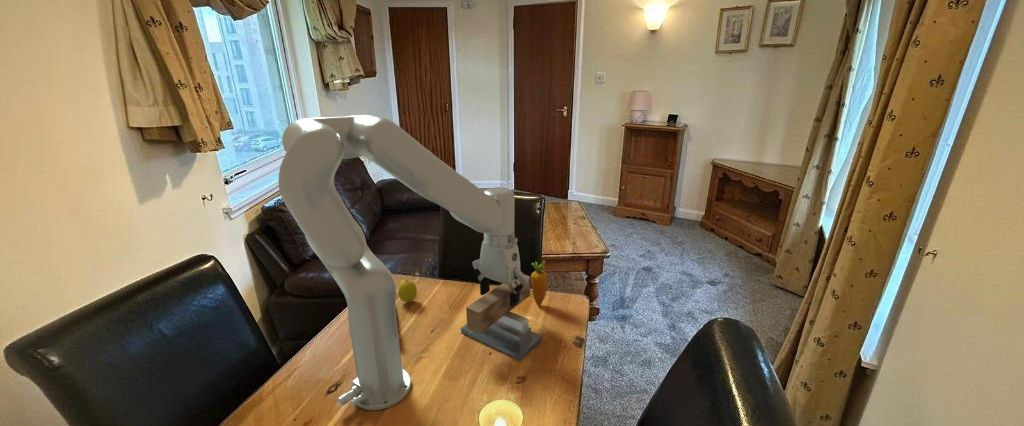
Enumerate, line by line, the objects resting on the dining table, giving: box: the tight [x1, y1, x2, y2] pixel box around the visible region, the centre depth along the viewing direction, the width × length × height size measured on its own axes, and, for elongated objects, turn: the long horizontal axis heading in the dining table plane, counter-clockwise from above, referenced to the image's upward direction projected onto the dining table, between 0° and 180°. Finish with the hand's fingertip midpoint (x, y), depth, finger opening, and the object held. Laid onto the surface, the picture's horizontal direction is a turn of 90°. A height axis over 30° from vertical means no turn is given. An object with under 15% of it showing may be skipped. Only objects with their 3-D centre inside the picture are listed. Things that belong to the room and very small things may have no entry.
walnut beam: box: [465, 274, 531, 334], centre depth 106 cm, size 22×4×6 cm, turn 144°
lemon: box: [397, 279, 418, 304], centre depth 125 cm, size 6×6×8 cm
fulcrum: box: [460, 311, 543, 362], centre depth 108 cm, size 10×20×8 cm, turn 54°
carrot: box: [530, 260, 548, 307], centre depth 122 cm, size 5×5×15 cm
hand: (499, 298), depth 106 cm, fingers open, 9 cm apart
